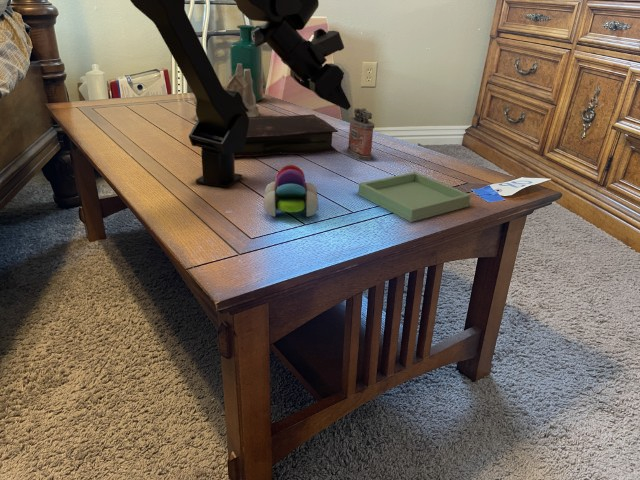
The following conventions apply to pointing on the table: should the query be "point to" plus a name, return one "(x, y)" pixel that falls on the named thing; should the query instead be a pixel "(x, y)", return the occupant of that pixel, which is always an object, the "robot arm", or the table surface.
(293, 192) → the rainbow wheeled toy
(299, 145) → the diary
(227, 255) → the table surface
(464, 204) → the dish
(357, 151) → the lighter
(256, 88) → the pitcher
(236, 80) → the ceramic cottage
